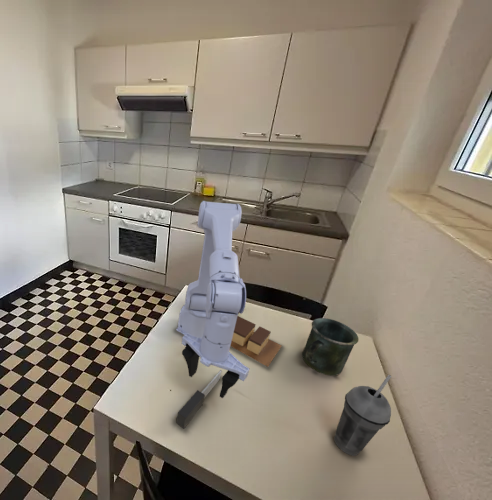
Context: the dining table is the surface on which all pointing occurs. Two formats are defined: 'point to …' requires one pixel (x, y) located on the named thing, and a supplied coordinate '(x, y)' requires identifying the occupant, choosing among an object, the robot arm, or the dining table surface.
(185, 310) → the robot arm
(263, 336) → the cake slice
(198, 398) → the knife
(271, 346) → the cake board
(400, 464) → the dining table surface
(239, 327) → the cake
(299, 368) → the dining table surface
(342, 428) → the beverage cup
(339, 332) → the mug
